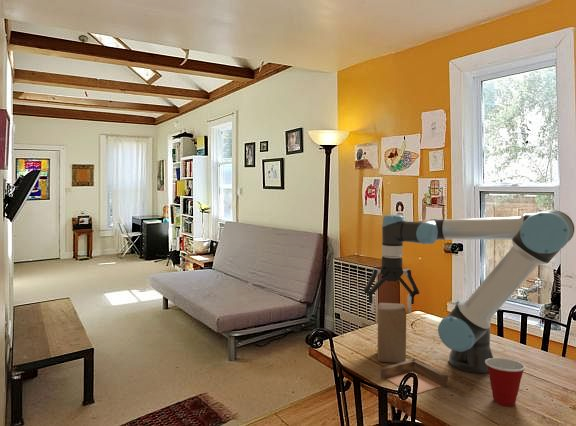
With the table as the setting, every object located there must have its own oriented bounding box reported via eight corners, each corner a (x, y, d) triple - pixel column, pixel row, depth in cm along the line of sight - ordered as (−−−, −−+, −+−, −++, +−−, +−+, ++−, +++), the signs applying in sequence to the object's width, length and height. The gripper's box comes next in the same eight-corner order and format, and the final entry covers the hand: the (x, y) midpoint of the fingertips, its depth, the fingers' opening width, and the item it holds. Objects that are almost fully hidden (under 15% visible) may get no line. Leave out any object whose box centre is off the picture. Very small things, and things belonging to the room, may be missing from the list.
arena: (413, 368, 146) (413, 359, 146) (447, 386, 133) (447, 375, 133) (380, 377, 139) (380, 367, 139) (413, 397, 126) (413, 386, 126)
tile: (413, 372, 144) (413, 371, 144) (440, 386, 133) (440, 385, 133) (387, 379, 138) (387, 378, 138) (413, 395, 127) (413, 394, 127)
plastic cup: (511, 392, 129) (512, 354, 129) (532, 410, 119) (533, 370, 118) (477, 392, 129) (478, 355, 128) (495, 411, 118) (496, 370, 117)
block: (405, 364, 150) (406, 310, 149) (377, 362, 152) (378, 309, 151) (403, 353, 159) (404, 303, 158) (377, 352, 161) (377, 301, 160)
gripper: (422, 254, 157) (421, 309, 158) (357, 254, 158) (356, 308, 159) (428, 258, 149) (427, 315, 151) (359, 257, 150) (359, 314, 151)
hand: (390, 312), depth 155 cm, fingers open, 13 cm apart
